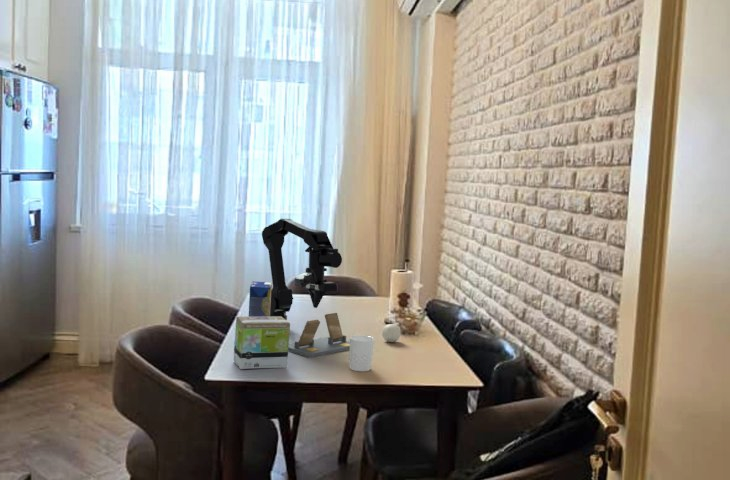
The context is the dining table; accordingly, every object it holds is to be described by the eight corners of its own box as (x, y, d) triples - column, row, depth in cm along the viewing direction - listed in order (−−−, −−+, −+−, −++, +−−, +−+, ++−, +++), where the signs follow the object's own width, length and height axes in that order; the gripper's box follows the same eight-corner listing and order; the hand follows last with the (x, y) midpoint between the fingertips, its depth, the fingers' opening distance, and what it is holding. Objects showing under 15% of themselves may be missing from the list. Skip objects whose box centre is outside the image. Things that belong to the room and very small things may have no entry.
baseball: (378, 342, 261) (379, 324, 261) (385, 338, 268) (386, 321, 267) (395, 345, 259) (397, 327, 258) (402, 341, 266) (403, 323, 265)
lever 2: (331, 343, 250) (324, 315, 252) (341, 341, 254) (334, 313, 256) (333, 342, 250) (327, 314, 252) (343, 340, 253) (336, 312, 255)
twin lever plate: (281, 348, 244) (281, 338, 243) (331, 339, 261) (331, 330, 261) (308, 357, 234) (309, 347, 234) (358, 347, 252) (359, 338, 251)
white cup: (347, 364, 229) (349, 334, 228) (371, 365, 230) (373, 335, 229) (348, 371, 221) (350, 340, 220) (373, 372, 222) (375, 341, 221)
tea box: (240, 370, 215) (242, 323, 214) (233, 361, 224) (235, 315, 223) (288, 368, 221) (290, 321, 220) (278, 359, 230) (281, 314, 229)
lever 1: (297, 345, 242) (307, 321, 238) (307, 343, 245) (317, 319, 242) (299, 347, 241) (309, 323, 237) (310, 345, 245) (320, 321, 241)
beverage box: (268, 344, 249) (271, 282, 247) (267, 352, 238) (270, 287, 236) (248, 343, 248) (252, 281, 246) (246, 351, 237) (250, 286, 235)
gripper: (283, 263, 260) (282, 305, 261) (313, 269, 246) (312, 313, 247) (308, 262, 267) (307, 303, 268) (339, 267, 253) (337, 310, 254)
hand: (315, 307), depth 259 cm, fingers closed
